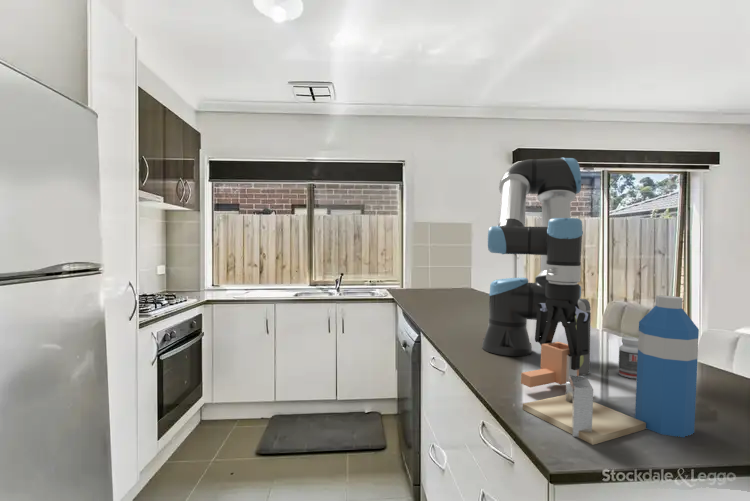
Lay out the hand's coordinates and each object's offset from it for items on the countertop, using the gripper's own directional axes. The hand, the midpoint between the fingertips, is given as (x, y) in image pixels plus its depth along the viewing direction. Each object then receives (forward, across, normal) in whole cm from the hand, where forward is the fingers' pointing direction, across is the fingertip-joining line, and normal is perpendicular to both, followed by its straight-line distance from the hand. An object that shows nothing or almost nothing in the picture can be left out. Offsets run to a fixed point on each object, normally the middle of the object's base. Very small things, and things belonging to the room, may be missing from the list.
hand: (559, 377), depth 99 cm
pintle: (+1, +9, -7) cm, 12 cm away
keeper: (+2, +17, -15) cm, 23 cm away
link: (0, 0, -4) cm, 4 cm away
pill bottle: (+3, +2, +26) cm, 26 cm away
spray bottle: (+3, -6, +14) cm, 16 cm away
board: (+2, +14, -11) cm, 18 cm away
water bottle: (+2, +23, +1) cm, 23 cm away
